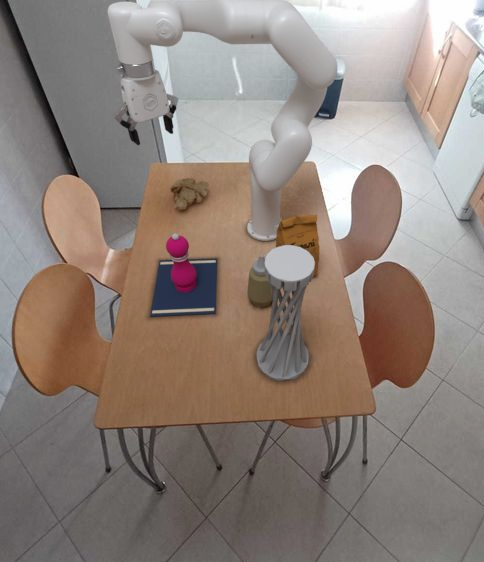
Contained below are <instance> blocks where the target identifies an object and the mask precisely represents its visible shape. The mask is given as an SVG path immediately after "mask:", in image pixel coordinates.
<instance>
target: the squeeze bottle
mask: <svg viewBox="0 0 484 562" xmlns="http://www.w3.org/2000/svg"><path fill="white" fill-rule="evenodd" d="M257 258H258V259H257V260H255V261H254V262H253V265H252V267H251V268H250V269H249V274H248V282H247V291H246V294H247V296H248V298H249V300H250V302H251V303H252V305H254V306H255V307H257V308H266V307H268V306H270V304H271V303H272V302H273V298H272V293H271V289H270V284H269V282H268V280H267V278H266V276H265V259H266V257H265V255H264V254H263V253H261V254H259V256H258V257H257Z"/></svg>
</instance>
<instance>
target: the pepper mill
mask: <svg viewBox="0 0 484 562" xmlns="http://www.w3.org/2000/svg"><path fill="white" fill-rule="evenodd" d="M165 249H166V251H167V253H168V254H169V258H170V260H173V263H174V265H173V268H172V271H171V279H172V281H173V282H174V283H175V287H176V289H177V290H178V291H179V292H183V293H187V292H190V291H192V290H193V289H195V287H196V275H197V274H196V270H195V268H194V267H193V265H192V264H191V263H190V262H189V261H188V259H189V257H190V253H189V249H190V243H189V241H188V239H187V238H186V237H184V236H183V235H181V234H180V235H179V234H178V233H172V235H171V236H170V237H169V238H168V239H167V241H166V243H165Z"/></svg>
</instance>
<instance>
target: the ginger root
mask: <svg viewBox="0 0 484 562" xmlns="http://www.w3.org/2000/svg"><path fill="white" fill-rule="evenodd" d="M209 187H210V183H209V182H208V181H204V180H201V181H199V182H196V179H195V178H191V177H188V178H181V179H177V180H175V182H174V184H173V185H171V187H169V188H170V192H171V193H173V194H175V196H174V201H175V204H174V206H173V207H174V209H175V210H180V211H184V210H186V209H187V207H188V205H189V206H190V205H193V204H194V203H196V204H201V203H202V201H203V198H207V196H208V190H209V189H210V188H209Z"/></svg>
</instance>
